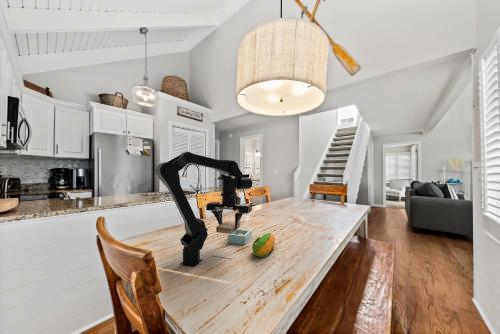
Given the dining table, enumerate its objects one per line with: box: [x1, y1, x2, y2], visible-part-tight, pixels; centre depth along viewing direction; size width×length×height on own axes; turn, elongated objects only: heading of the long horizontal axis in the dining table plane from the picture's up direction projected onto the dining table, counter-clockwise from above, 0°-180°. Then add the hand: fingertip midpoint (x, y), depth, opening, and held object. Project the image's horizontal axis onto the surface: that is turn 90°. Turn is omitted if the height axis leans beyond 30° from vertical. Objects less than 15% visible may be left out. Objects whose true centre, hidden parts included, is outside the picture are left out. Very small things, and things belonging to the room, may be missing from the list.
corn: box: [251, 232, 276, 258], centre depth 88 cm, size 7×8×20 cm
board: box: [215, 220, 241, 235], centre depth 86 cm, size 10×6×2 cm, turn 162°
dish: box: [227, 228, 253, 246], centre depth 99 cm, size 10×9×4 cm
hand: (228, 227), depth 86 cm, fingers closed on board, 6 cm apart
